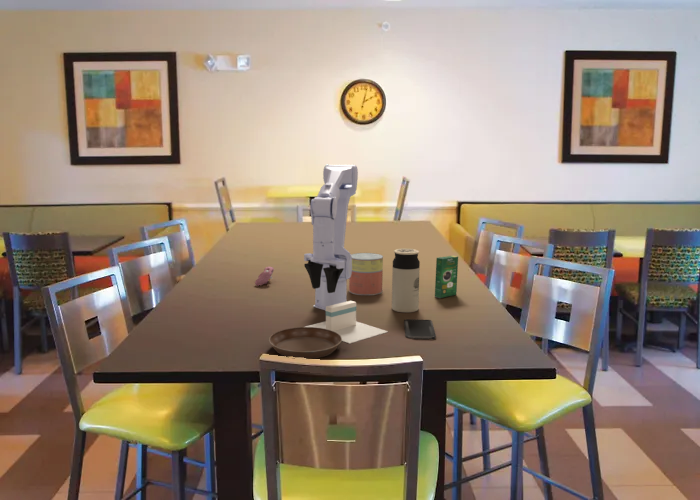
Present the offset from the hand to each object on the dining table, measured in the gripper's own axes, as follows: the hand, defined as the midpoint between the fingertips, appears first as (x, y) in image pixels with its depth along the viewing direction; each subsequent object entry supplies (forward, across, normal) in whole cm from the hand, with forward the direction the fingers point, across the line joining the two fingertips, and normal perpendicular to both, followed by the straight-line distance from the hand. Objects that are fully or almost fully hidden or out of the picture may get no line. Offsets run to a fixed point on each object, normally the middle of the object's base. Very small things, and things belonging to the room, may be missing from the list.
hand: (323, 290), depth 171 cm
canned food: (+10, -18, +34) cm, 40 cm away
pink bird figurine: (+10, -50, +16) cm, 53 cm away
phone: (+10, +22, +15) cm, 28 cm away
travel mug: (+10, +6, +27) cm, 29 cm away
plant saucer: (+10, +13, -17) cm, 24 cm away
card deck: (+9, +7, 0) cm, 11 cm away
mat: (+9, +9, 0) cm, 13 cm away
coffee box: (+10, +4, +49) cm, 50 cm away
